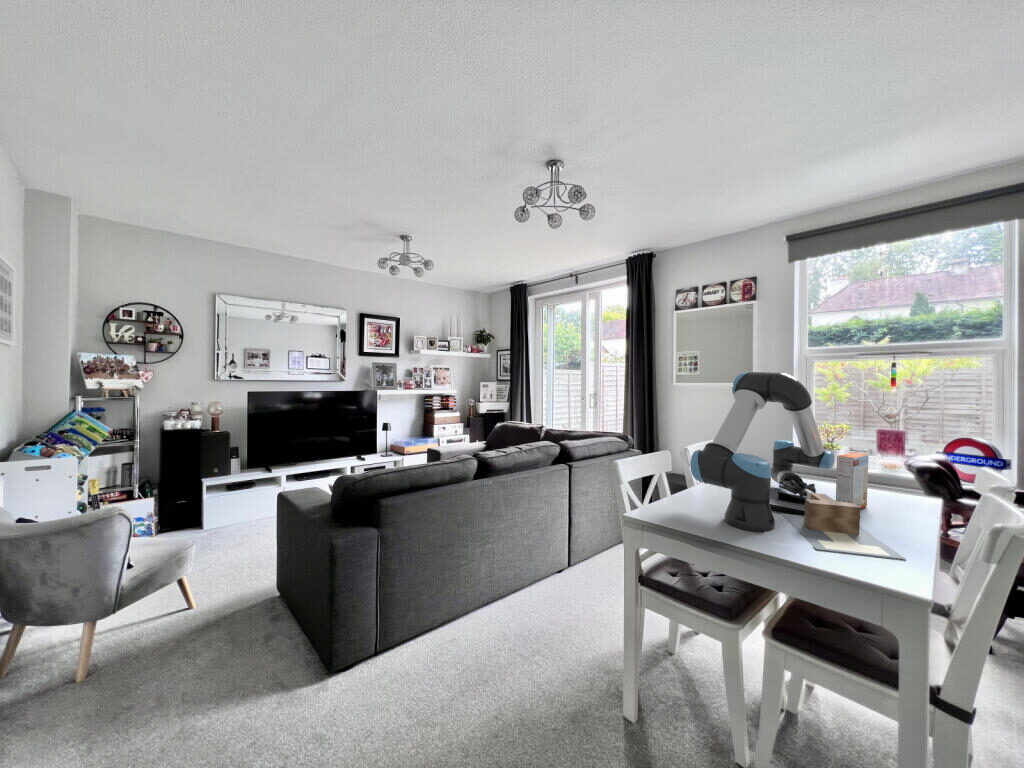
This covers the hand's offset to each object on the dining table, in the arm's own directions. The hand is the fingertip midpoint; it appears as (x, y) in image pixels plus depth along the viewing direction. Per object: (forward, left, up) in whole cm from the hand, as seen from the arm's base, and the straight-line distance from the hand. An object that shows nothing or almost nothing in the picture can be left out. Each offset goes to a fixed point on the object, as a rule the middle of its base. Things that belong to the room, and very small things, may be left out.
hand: (812, 497), depth 157 cm
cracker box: (+20, +11, -7) cm, 24 cm away
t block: (-3, -12, -6) cm, 14 cm away
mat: (-4, -19, -6) cm, 21 cm away
